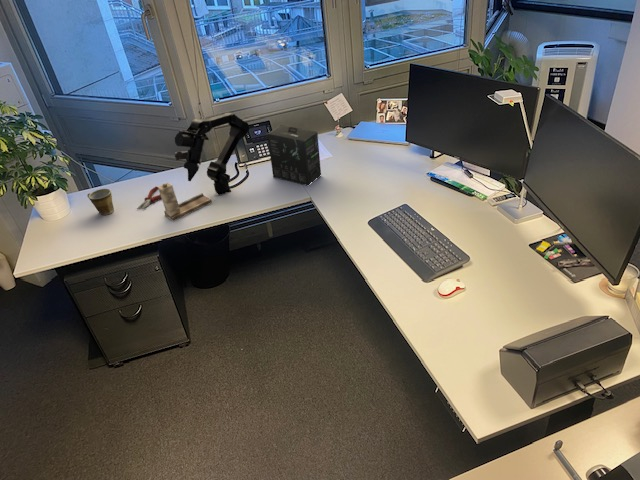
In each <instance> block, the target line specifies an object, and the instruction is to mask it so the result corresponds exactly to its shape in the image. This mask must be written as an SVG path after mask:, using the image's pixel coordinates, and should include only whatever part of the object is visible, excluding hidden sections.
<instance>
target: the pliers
mask: <svg viewBox="0 0 640 480" xmlns="http://www.w3.org/2000/svg"><path fill="white" fill-rule="evenodd" d="M158 187H159V186H155V187H153V188H151V189H150V190H149V192H148V196H147V197H145V198H144V201H143V202H142V203H141V204H140V205H138V207H137V208H136V210H139V209H141V210H144V209H146V208H147V207H148V206H150V205H151V204H155V203H156V202H158V201H160V200H162V198H161V195H160V194H157V195H155V196H153V195H154V194H155V193H156V192H157V191H159V189H158Z"/></svg>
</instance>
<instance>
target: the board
mask: <svg viewBox="0 0 640 480" xmlns="http://www.w3.org/2000/svg"><path fill="white" fill-rule="evenodd" d="M211 203H212V199H211V198H208V196H205V195H204V192H203V193H202V192H201V193H199V194H197V195H195V196H192V197H191V198H189V199H187V200H184V201H182V202H180V203H178V205H179V208H180V213H178V214H176V215H173V216H169V215H168V214H167V213H166V210H165V209H164V212H163V213H164V215H165V216H166V217H167V218H168V219H170V220H172V222H173V221H174V222H175V221H177V220H179V219H181V218H183V217H185V216H186V215H188V214H191V213H192V212H195V211H197V210H199V209H201V208H203V207H205V206H208V205H209V204H211Z"/></svg>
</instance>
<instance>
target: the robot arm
mask: <svg viewBox="0 0 640 480" xmlns="http://www.w3.org/2000/svg"><path fill="white" fill-rule="evenodd" d="M226 124H227V125H228V126H230V129H229V137H228V139H227V140H226V143H225V144H224V146H223V148H222V150H221V152H220V154H219V156H218V157H217V159H216V160H215V161H210V162H209V165H208V167H207V168H206V175H207V177H208V179H210V180H211V181H213V188H214V191H215V193H216V194H217V195H218V196H220V195H225V194H228V193H231V192H232V190H231V188H230V184H229V181H230V180H231V175H229V174H227V165H228V163H229V161H230V159H231V157H232V155H233V153H234V151H235V150H236V148H237V145H238V143H239V142H240V140H242V139H243V138H245V137H246V135H247V134H248V133H249V131H250V125H249V123H248V122H246V121H244V120H243V119H242V118H240V117H238V116H237V115H236V114H235V113H233V112H232V113H231V112H225V113H222V114H219V115H216V116H213V117H209V118H195V119H192V120H191V122H190V124H189V126H188V127H187V128H186V129H185V131H184V130H179V131H178V133H176V135H175V137H174V143H175V145H176V146H177V147H182V148H188V150H184V151H183V150H181V151H179V150H178V151H175V152H174V158H175V159H174V160H175V161H181V160H182V161H183V160H185V162H184V164H183V169H185V170H187V182H191V181H192V180H193V178H194V177H195V176H196V174H197V172H198V171H199V169H200V166H201V164H202V154H203V150H204V145H205V141H209V140H210V138H209V137H208V136H207V134H208V133H209V132H211V131H212V129H213V128H217V127H220V126H224V125H226Z"/></svg>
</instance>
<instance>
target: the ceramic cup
mask: <svg viewBox="0 0 640 480" xmlns="http://www.w3.org/2000/svg"><path fill="white" fill-rule="evenodd" d="M87 198H88V200H89V201H90V203H91V204H93V207H95V209H96V210H97V212H98V214H100V215H101V216H108V215H111V214H112V213H114V212H115V207H114V203H113V195H112V190H111V189H109V188H100V189H96V190H94V191H92V192H91V193H88V194H87Z"/></svg>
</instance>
